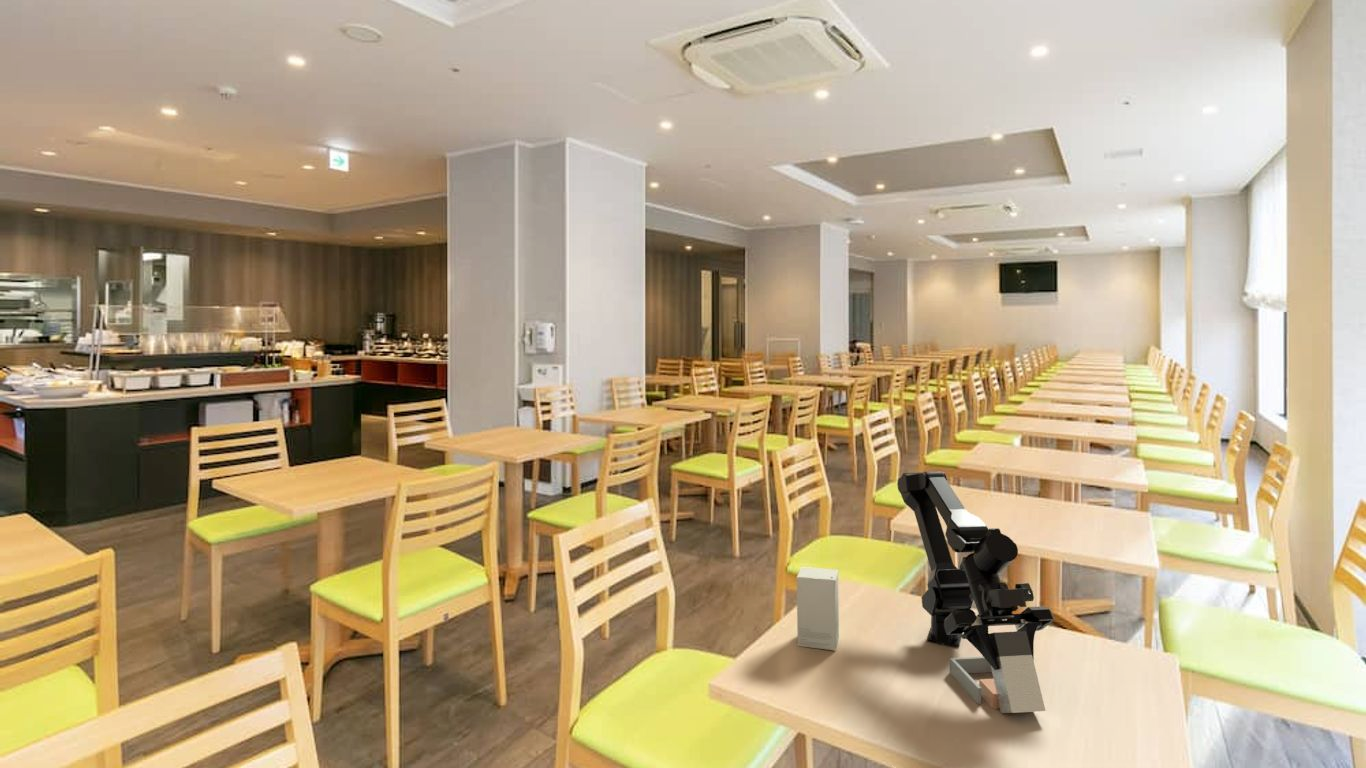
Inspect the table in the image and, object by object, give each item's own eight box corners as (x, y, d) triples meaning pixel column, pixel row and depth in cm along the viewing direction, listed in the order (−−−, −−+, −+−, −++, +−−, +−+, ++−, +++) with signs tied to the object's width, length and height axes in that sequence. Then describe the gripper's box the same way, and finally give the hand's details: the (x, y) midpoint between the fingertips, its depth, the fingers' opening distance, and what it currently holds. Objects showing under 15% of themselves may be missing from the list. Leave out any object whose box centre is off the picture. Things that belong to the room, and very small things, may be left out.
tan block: (978, 694, 130) (979, 679, 129) (1014, 692, 130) (1015, 677, 130) (992, 710, 125) (993, 694, 124) (1030, 707, 125) (1031, 692, 125)
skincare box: (839, 638, 151) (840, 569, 149) (835, 652, 145) (837, 580, 143) (800, 633, 154) (801, 564, 152) (795, 646, 148) (796, 575, 146)
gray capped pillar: (1000, 712, 123) (983, 634, 128) (1033, 710, 124) (1015, 633, 129) (1012, 712, 119) (994, 632, 125) (1045, 710, 120) (1026, 631, 125)
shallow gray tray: (949, 672, 137) (950, 658, 136) (1004, 669, 138) (1004, 655, 137) (977, 703, 126) (978, 688, 126) (1036, 700, 127) (1037, 684, 127)
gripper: (953, 568, 126) (981, 656, 117) (1051, 564, 128) (1087, 651, 118) (932, 592, 135) (957, 676, 126) (1024, 588, 137) (1056, 671, 127)
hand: (1014, 668), depth 124 cm, fingers closed on gray capped pillar, 6 cm apart
